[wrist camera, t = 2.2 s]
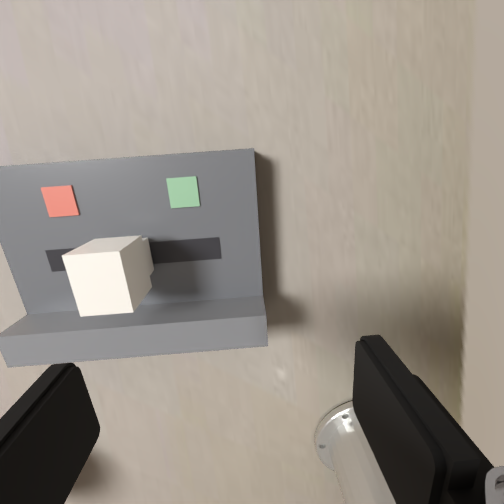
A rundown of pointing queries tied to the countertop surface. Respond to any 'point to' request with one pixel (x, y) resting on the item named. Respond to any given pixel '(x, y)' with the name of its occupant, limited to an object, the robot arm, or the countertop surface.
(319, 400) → the countertop surface
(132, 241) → the knob
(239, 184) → the panel
